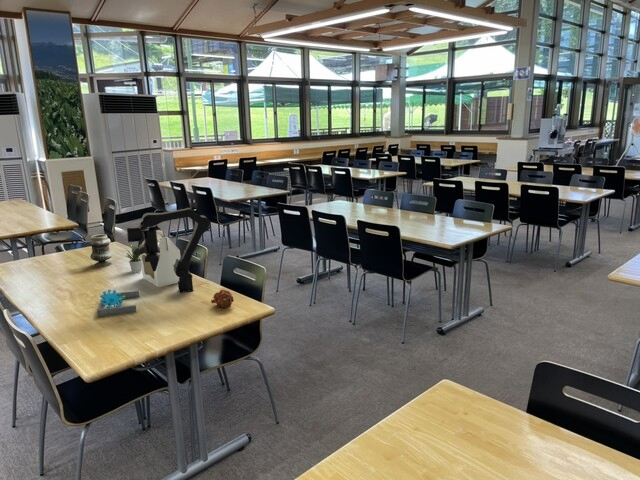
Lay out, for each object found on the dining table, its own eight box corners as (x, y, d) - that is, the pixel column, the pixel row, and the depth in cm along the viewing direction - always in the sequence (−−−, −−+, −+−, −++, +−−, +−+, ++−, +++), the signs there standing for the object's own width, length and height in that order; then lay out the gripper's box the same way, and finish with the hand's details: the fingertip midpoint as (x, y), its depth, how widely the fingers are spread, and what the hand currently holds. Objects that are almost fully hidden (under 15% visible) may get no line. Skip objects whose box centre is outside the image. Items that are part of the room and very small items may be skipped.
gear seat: (139, 296, 225) (138, 290, 224) (136, 312, 205) (135, 305, 204) (104, 300, 220) (103, 294, 220) (97, 317, 201) (96, 310, 200)
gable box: (142, 277, 254) (136, 227, 247) (165, 272, 262) (161, 224, 255) (158, 287, 237) (153, 234, 231) (183, 281, 245) (178, 230, 239)
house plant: (157, 269, 268) (154, 242, 264) (136, 275, 257) (133, 247, 253) (141, 266, 276) (138, 239, 272) (120, 272, 264) (117, 244, 260)
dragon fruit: (230, 314, 205) (215, 311, 214) (241, 298, 209) (226, 296, 218) (218, 302, 201) (204, 299, 209) (230, 286, 205) (215, 284, 213)
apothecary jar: (107, 267, 274) (104, 237, 270) (87, 267, 275) (83, 238, 270) (116, 261, 286) (113, 233, 282) (97, 261, 286) (93, 233, 282)
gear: (103, 309, 205) (98, 289, 209) (100, 315, 209) (95, 296, 213) (128, 305, 213) (123, 287, 217) (125, 312, 216) (119, 293, 220)
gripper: (134, 237, 226) (137, 267, 230) (131, 245, 209) (135, 278, 213) (158, 235, 230) (161, 265, 233) (157, 243, 212) (160, 276, 216)
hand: (154, 271), depth 224 cm, fingers closed
